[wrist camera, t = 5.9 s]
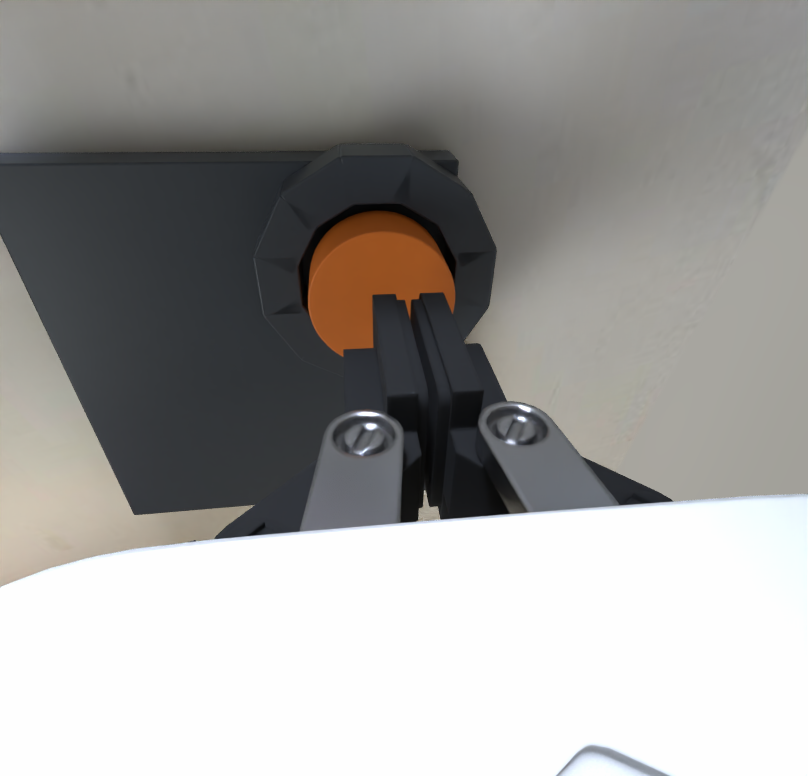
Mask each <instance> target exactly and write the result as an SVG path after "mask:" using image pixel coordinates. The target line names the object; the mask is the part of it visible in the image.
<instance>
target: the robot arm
mask: <svg viewBox="0 0 808 776" xmlns="http://www.w3.org/2000/svg"><path fill="white" fill-rule="evenodd" d="M372 311H373V348H362V349H343V361H344V400H345V413H344V414H342V415H340V416H338V417H337V418H335V419H334V420H333V421H332V422H331V423H330V424H329V425H328V427H327V429H326V431H325V433H324V436H323V440H322V444H321V448H320V452H319V456H318V459H317V460H316V461H314V462H313V463H311V464H310V465H309V466H307V467H306V468H305V469H303V470H302V471H301V472H299V473H298V474H297V475H295V476H294V477H293V478H291V479H290V480H288V481H287V482H286V483H284V484H283V485H282V486H280V487H279V488H278V489H276V490H275V491H274V492H272V493H271V494H270V495H268V496H267V497H266V498H264V499H263V500H261V501H260V502H259V503H257V504H256V505H255V506H253V507H252V508H251V509H249V510H248V511H247V512H245V513H244V514H243V515H241V516H240V517H238V518H237V519H236V520H234V521H233V522H232V523H230V524H229V525H228V526H226V527H225V528H224V529H223V530H222V531H221V532H220V533H219V534H218V535H217V536H216V537H215V539H213V540H204V541H196V540H194V541H190V542H186V543H179V544H171V545H163V546H154V547H146V548H138V549H131V550H126V551H120V552H115V553H110V554H104V555H99V556H94V557H90V558H86V559H82V560H79V561H75V562H71V563H68V564H64V565H60V566H57V567H53V568H49V569H46V570H44V571H41V572H38V573H36V574H33V575H30V576H28V577H25V578H22V579H20V580H17V581H14V582H12V583H9V584H6V585H4V586H1V587H0V776H808V494H789V495H764V496H745V497H732V498H718V499H702V500H688V501H672V500H671V499H670V498H668V497H666V496H664V495H663V494H661V493H659V492H657V491H655V490H653V489H651V488H648V487H646V486H644V485H642V484H640V483H637V482H636V481H633V480H631V479H629V478H627V477H625V476H623V475H620V474H618V473H616V472H614V471H612V470H610V469H608V468H605V467H603V466H601V465H599V464H597V463H595V462H592V461H590V460H588V459H586V458H584V457H582V456H581V455H580V454H579V453H578V451H577V450H576V449H575V448H574V446H573V445H572V444H571V443H570V441H569V440H568V439H567V438H566V436H565V435H564V434H563V433H562V431H561V430H560V429H559V428H558V426H557V425H556V424H555V422H554V421H553V420H552V419H551V418H550V417H549V416H548V415H547V414H546V413H545V412H543V411H542V410H540V409H538V408H536V407H535V406H532V405H529V404H526V403H521V402H514V401H507V400H506V398H505V396H504V393H503V391H502V389H501V387H500V385H499V383H498V380H497V378H496V376H495V374H494V372H493V370H492V367H491V365H490V363H489V361H488V359H487V357H486V355H485V352H484V350H483V348H482V346H481V345H480V344H478V343H476V344H465V343H464V341H463V338H462V336H461V333H460V331H459V329H458V326H457V324H456V321H455V319H454V317H453V314H452V312H451V309H450V307H449V304H448V302H447V300H446V297H445V295H444V293H443V292H437V293H420V295H419V299H412V300H411V309H410V318H409V314H408V310H407V306H406V302H405V300H397V297H396V294H376V295H372ZM424 483H425V488H426V493H427V498H428V503H429V506H430V507H434V506H438V509H439V514H440V519H441V520H431V521H419V522H416V521H417V520H418V513H419V508H421V507H423V494H424Z"/></svg>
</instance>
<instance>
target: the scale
mask: <svg viewBox="0 0 808 776" xmlns="http://www.w3.org/2000/svg"><path fill="white" fill-rule="evenodd" d="M458 165H459V161H458V160H457V159H456V158H455V156H454V155H453V154H452V153H451V152H450V151H448V150H435V151H417V150H415V149H414V148H412V147H410V146H409V145H405V144H340V145H336V146H335V147H333V148H332V149H330V150H329V151H270V152H104V153H0V235H1V237H2V239H3V241H4V243H5V245H6V247H7V249H8V251H9V254H10V256H11V258H12V260H13V262H14V264H15V266H16V268H17V270H18V272H19V275H20V277H21V279H22V281H23V283H24V285H25V287H26V289H27V291H28V293H29V295H30V298H31V300H32V302H33V304H34V306H35V308H36V310H37V312H38V314H39V316H40V319H41V321H42V323H43V325H44V327H45V329H46V331H47V333H48V335H49V337H50V339H51V342H52V344H53V346H54V348H55V350H56V352H57V354H58V356H59V358H60V360H61V363H62V365H63V367H64V369H65V371H66V373H67V375H68V377H69V379H70V381H71V383H72V386H73V388H74V390H75V392H76V394H77V396H78V398H79V400H80V402H81V404H82V407H83V409H84V411H85V413H86V415H87V417H88V419H89V421H90V423H91V425H92V427H93V430H94V432H95V434H96V436H97V438H98V440H99V442H100V444H101V446H102V448H103V451H104V453H105V455H106V457H107V459H108V461H109V463H110V465H111V467H112V469H113V471H114V474H115V476H116V478H117V480H118V482H119V484H120V486H121V488H122V490H123V492H124V495H125V497H126V499H127V501H128V503H129V505H130V507H131V509H132V511H133V513H134V515H142V514H154V513H165V512H177V511H189V510H200V509H212V508H223V507H235V506H247V505H256V504H257V503H259V502H260V501H261V500H263V499H264V498H266V497H267V496H268V495H270V494H271V493H272V492H274V491H275V490H276V489H278V488H279V487H280V486H282V485H283V484H284V483H286V482H287V481H288V480H290V479H291V478H293V477H294V476H295V475H297V474H298V473H299V472H301V471H302V470H303V469H305V468H306V467H307V466H309V465H310V464H311V463H313V462H314V461H316V460H317V459H318V456H319V452H320V448H321V444H322V440H323V436H324V433H325V431H326V429H327V427H328V425H329V424H330V423H331V422H332V421H333V420H334V419H335V418H337V417H338V416H340V415H342V414H344V413H345V400H344V361H343V357H342V356H341V355H339V354H338V353H336V352H335V351H333V350H332V349H331V348H330V347H329V346H327V345H326V343H325V342H324V341H323V340H322V339H321V338H320V336H319V335H318V333H317V332H316V330H315V328H314V326H313V324H312V321H311V318H310V314H309V309H308V289H309V273H310V264H311V260H312V256H313V254H314V251H315V249H316V247H317V245H318V244H319V242H320V240H321V239H322V238H323V236H324V235H325V234H326V233H327V232H328V231H329V230H330V229H331V228H332V227H333V226H335V225H336V224H337V223H339V222H340V221H342V220H344V219H346V218H347V217H350V216H352V215H355V214H358V213H362V212H366V211H376V210H378V211H390V212H395V213H398V214H401V215H404V216H407V217H409V218H411V219H413V220H414V221H416V222H417V223H419V224H420V225H421V226H422V227H424V228H425V229H426V230H427V231H428V232H429V234H430V235H431V236H432V237H433V239H434V240H435V242H436V244H437V245H438V247H439V249H440V251H441V253H442V255H443V257H444V259H445V261H446V263H447V265H448V267H449V270H450V272H451V274H452V277H453V281H454V286H455V305H454V311H453V317H454V319H455V321H456V324H457V326H458V329H459V331H460V333H461V336H462V338H463V341H464V340H465V339H466V337H467V336H468V335H469V333H470V332H471V331H472V329H473V328H474V326H475V325H476V324H477V322H478V321H479V320H480V318H481V317H482V316H483V314H484V313H485V312H486V310H487V309H488V306H489V304H490V296H491V289H492V281H493V274H494V267H495V259H496V252H497V250H496V246H495V244H494V241H493V239H492V237H491V235H490V232H489V230H488V228H487V226H486V223H485V221H484V219H483V217H482V215H481V212H480V210H479V208H478V206H477V203H476V201H475V199H474V197H473V194H472V193H471V192H470V191H469V189H468V188H467V187H466V186H465V185H464V184H463V182H462V181H461V180H460V179H459V178H458ZM424 490H426V488H425V483H424Z"/></svg>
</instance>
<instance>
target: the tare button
mask: <svg viewBox="0 0 808 776" xmlns="http://www.w3.org/2000/svg"><path fill="white" fill-rule="evenodd" d="M437 292H443V293H444V295H445V297H446V300H447V302H448V304H449V307H450V309H451V312H452V314H453V311H454V305H455V286H454V281H453V277H452V274H451V272H450V270H449V267H448V265H447V263H446V261H445V259H444V257H443V255H442V253H441V251H440V249H439V247H438V245H437V244H436V242H435V240H434V239H433V237H432V236H431V235H430V234H429V232H428V231H427V230H426V229H425V228H424V227H422V226H421V225H420V224H419V223H417V222H416V221H414V220H413V219H411V218H409V217H407V216H404V215H401V214H398V213H395V212H390V211H378V210H376V211H366V212H362V213H358V214H355V215H352V216H350V217H347V218H346V219H344V220H342V221H340V222H339V223H337V224H336V225H335V226H333V227H332V228H331V229H330V230H329V231H328V232H327V233H326V234H325V235H324V236H323V238H322V239H321V240H320V242H319V244H318V245H317V247H316V249H315V251H314V254H313V256H312V260H311V264H310V273H309V289H308V309H309V314H310V318H311V321H312V324H313V326H314V328H315V330H316V332H317V333H318V335H319V336H320V338H321V339H322V340H323V341H324V342H325V343H326V345H327V346H329V347H330V348H331V349H332V350H333V351H335V352H336V353H338V354H339V355H341V356H342V357H343V349H362V348H373V311H372V295H376V294H396V297H397V300H405V302H406V306H407V310H408V314H409V318H410V309H411V300H412V299H419V295H420V293H437Z"/></svg>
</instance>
